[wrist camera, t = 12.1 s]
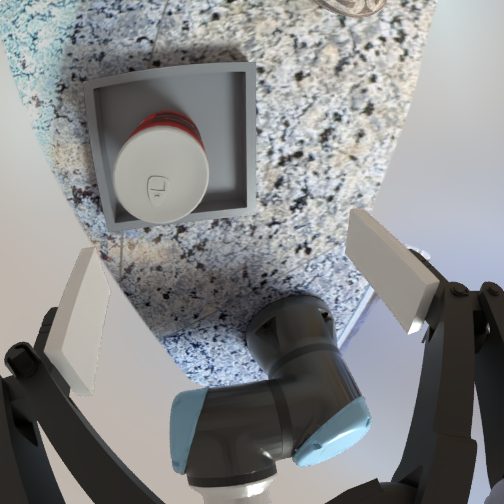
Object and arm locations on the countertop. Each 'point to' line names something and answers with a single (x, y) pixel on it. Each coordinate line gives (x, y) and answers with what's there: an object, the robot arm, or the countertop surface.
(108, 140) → the tray
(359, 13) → the pottery
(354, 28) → the countertop surface
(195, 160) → the canned food
